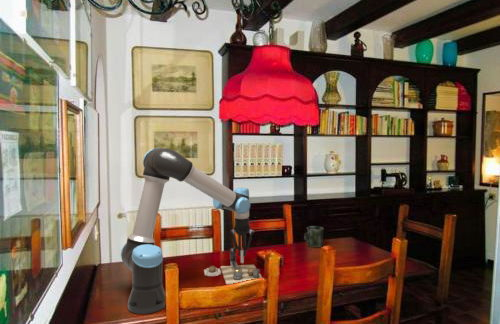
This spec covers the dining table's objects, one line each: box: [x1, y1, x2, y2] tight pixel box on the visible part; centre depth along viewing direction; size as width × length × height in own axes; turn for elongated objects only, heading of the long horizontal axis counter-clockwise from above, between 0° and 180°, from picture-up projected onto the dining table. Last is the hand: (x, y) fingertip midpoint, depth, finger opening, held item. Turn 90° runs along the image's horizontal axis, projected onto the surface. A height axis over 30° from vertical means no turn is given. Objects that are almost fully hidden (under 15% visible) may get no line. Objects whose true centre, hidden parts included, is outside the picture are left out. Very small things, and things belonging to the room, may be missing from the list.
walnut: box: [247, 268, 254, 276], centre depth 171 cm, size 4×4×4 cm
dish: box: [203, 267, 222, 277], centre depth 175 cm, size 8×8×2 cm
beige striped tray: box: [219, 264, 263, 285], centre depth 174 cm, size 23×18×5 cm
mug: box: [303, 225, 325, 248], centre depth 228 cm, size 11×15×12 cm
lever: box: [229, 247, 242, 276], centre depth 174 cm, size 20×5×10 cm, turn 11°
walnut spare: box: [208, 265, 217, 273], centre depth 175 cm, size 4×4×4 cm
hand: (242, 262), depth 182 cm, fingers closed
